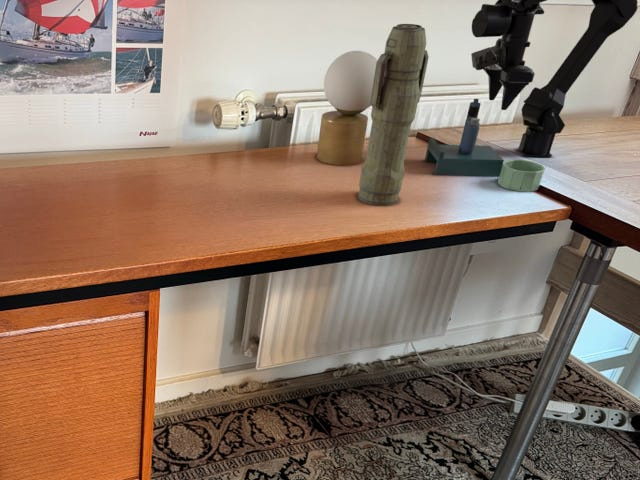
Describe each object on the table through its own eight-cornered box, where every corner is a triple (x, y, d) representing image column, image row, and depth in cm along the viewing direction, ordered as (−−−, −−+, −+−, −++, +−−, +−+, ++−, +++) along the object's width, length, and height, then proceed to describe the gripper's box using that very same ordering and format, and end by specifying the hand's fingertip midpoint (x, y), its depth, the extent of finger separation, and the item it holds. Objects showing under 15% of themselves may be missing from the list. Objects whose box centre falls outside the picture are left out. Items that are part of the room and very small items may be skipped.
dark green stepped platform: (485, 161, 175) (491, 139, 172) (499, 176, 166) (505, 153, 163) (424, 160, 176) (429, 138, 173) (435, 174, 167) (440, 152, 164)
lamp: (328, 144, 187) (342, 43, 173) (379, 153, 180) (397, 49, 166) (303, 158, 177) (315, 53, 163) (356, 169, 170) (373, 60, 156)
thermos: (343, 197, 155) (370, 25, 135) (381, 187, 160) (412, 20, 140) (373, 210, 149) (405, 32, 129) (411, 199, 154) (447, 26, 134)
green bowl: (530, 178, 165) (536, 160, 162) (544, 192, 157) (550, 172, 155) (493, 178, 165) (498, 159, 163) (505, 191, 158) (510, 171, 155)
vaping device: (468, 148, 171) (480, 98, 164) (473, 155, 166) (487, 103, 160) (457, 148, 171) (469, 97, 164) (462, 155, 167) (475, 103, 160)
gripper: (468, 28, 170) (453, 95, 179) (492, 42, 154) (475, 114, 163) (515, 29, 169) (497, 95, 178) (544, 43, 154) (523, 115, 163)
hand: (497, 104), depth 170 cm, fingers open, 9 cm apart
